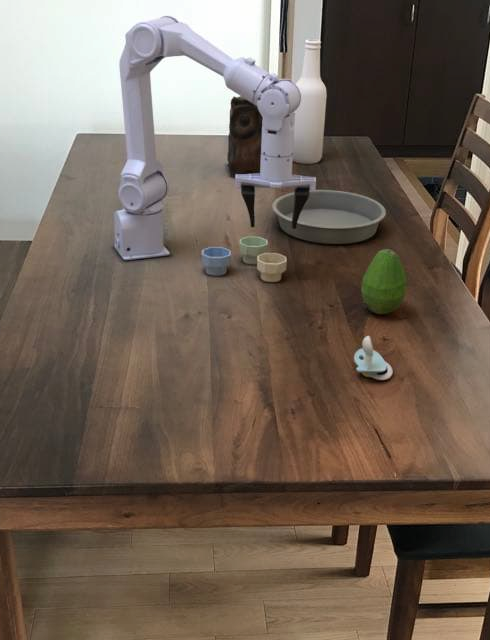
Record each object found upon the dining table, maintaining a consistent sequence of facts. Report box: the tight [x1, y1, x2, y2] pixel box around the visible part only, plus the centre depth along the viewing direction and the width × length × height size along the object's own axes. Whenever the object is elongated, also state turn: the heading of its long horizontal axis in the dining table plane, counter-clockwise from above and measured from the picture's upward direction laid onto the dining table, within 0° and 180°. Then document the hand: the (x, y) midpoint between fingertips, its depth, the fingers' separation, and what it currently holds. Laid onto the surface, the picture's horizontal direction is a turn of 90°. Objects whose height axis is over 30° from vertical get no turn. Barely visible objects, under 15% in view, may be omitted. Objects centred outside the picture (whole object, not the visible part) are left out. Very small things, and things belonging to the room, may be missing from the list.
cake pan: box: [272, 189, 387, 245], centre depth 195 cm, size 25×25×4 cm
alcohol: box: [290, 38, 328, 165], centre depth 231 cm, size 9×9×30 cm
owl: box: [227, 95, 263, 179], centre depth 222 cm, size 13×13×20 cm
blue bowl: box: [201, 246, 232, 277], centre depth 172 cm, size 6×6×4 cm
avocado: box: [360, 248, 408, 315], centre depth 157 cm, size 8×8×12 cm
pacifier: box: [353, 335, 394, 381], centre depth 139 cm, size 7×6×6 cm
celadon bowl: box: [238, 236, 269, 265], centre depth 177 cm, size 6×6×4 cm
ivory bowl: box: [256, 252, 288, 283], centre depth 170 cm, size 6×6×4 cm
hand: (273, 226), depth 166 cm, fingers open, 7 cm apart
